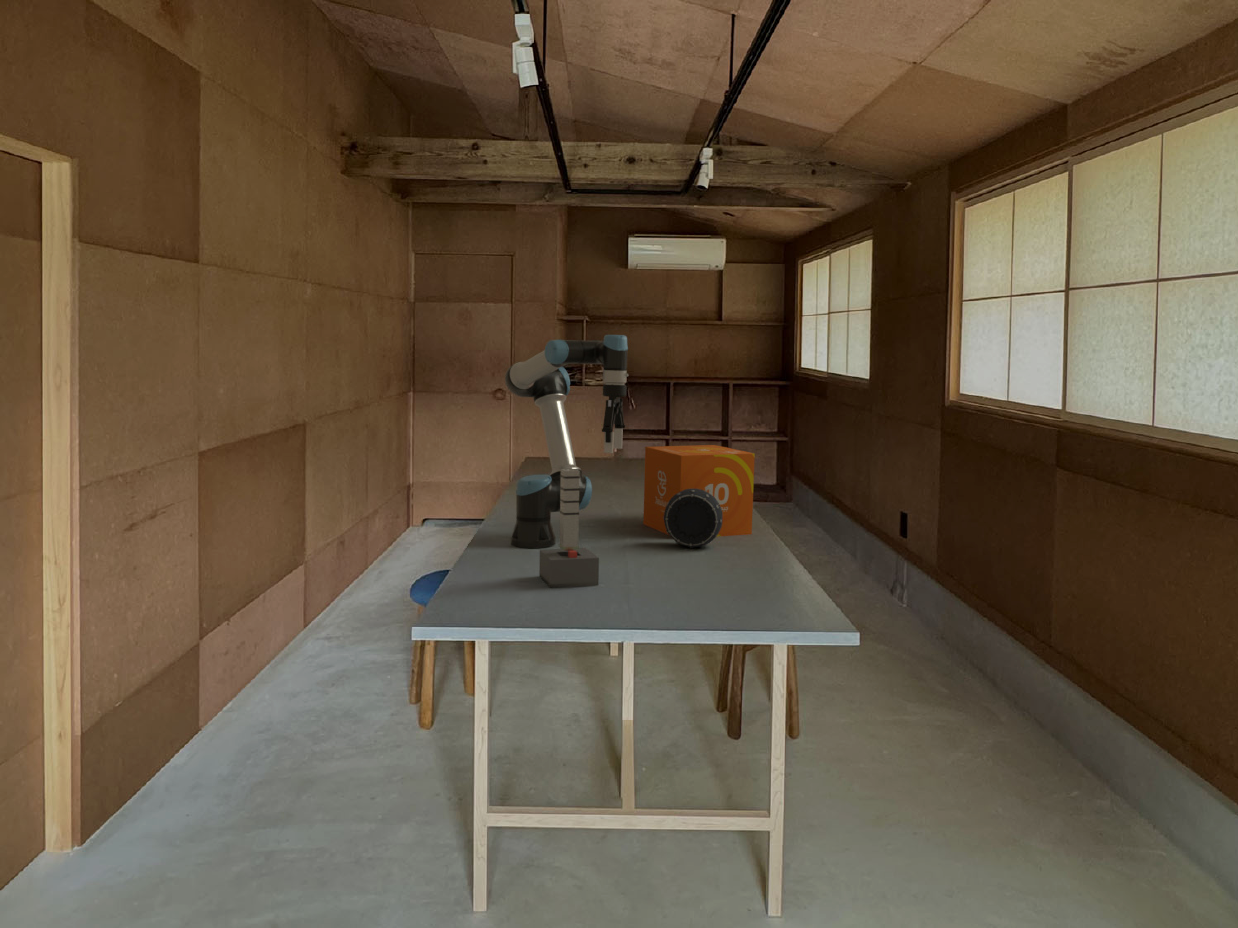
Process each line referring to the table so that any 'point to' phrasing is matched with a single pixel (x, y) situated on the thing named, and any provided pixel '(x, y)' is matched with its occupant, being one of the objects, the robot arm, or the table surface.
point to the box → (700, 482)
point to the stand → (569, 568)
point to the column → (569, 509)
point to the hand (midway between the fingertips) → (613, 450)
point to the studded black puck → (693, 517)
